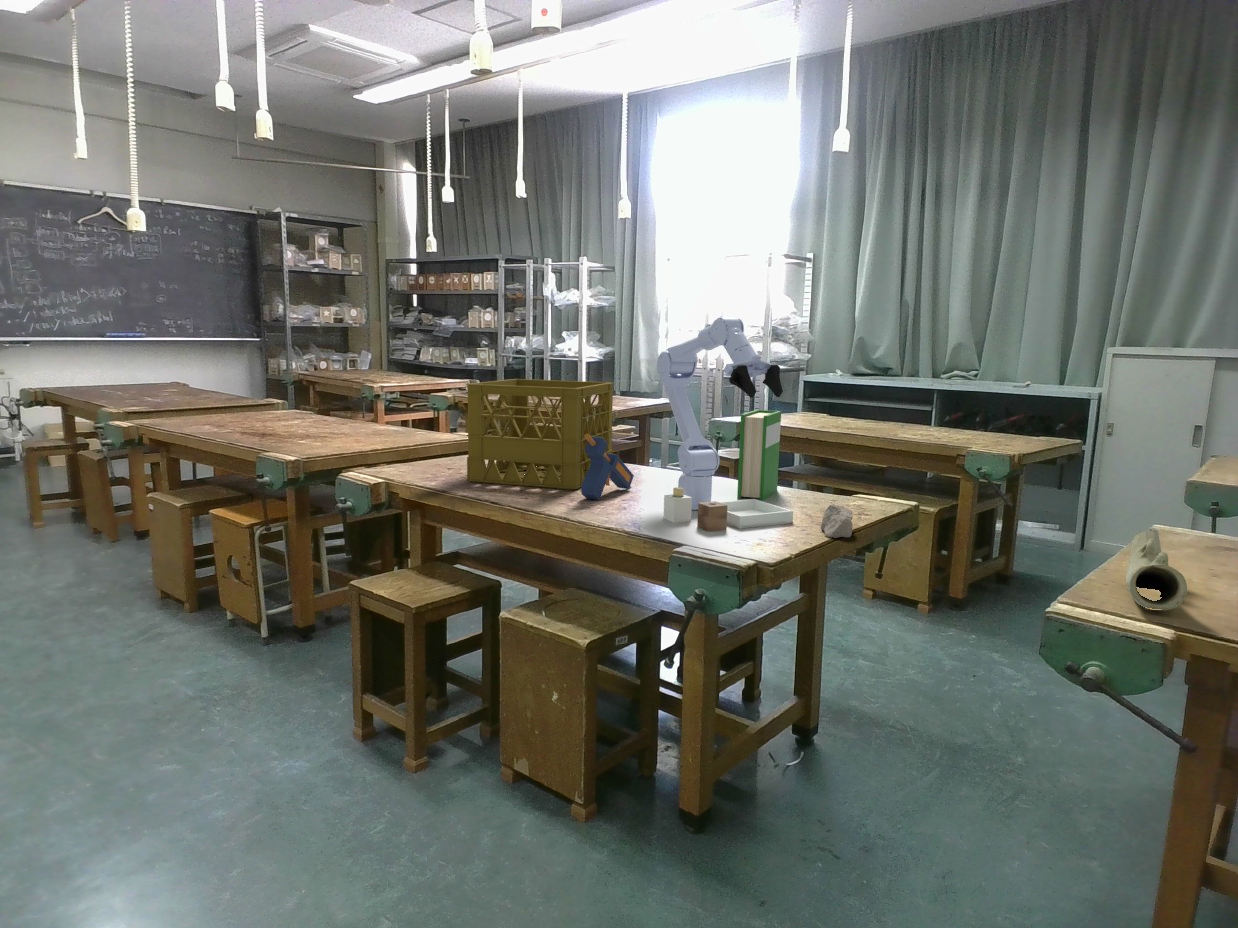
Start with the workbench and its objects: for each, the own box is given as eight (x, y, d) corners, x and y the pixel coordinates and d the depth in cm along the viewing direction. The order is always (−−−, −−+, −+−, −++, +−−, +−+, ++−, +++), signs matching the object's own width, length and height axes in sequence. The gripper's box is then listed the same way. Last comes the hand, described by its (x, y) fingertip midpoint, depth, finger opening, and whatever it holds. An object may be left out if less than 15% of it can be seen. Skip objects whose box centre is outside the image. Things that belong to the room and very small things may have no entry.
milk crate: (467, 482, 241) (466, 384, 237) (515, 465, 275) (515, 378, 270) (576, 491, 231) (577, 388, 227) (612, 472, 265) (614, 382, 260)
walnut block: (697, 527, 190) (698, 502, 189) (714, 525, 192) (715, 500, 191) (708, 531, 186) (709, 506, 185) (726, 529, 188) (727, 504, 187)
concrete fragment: (820, 538, 183) (822, 512, 182) (819, 524, 196) (821, 500, 195) (852, 540, 181) (854, 514, 180) (849, 526, 195) (851, 502, 194)
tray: (703, 514, 203) (703, 503, 203) (753, 509, 210) (754, 498, 210) (739, 528, 189) (740, 516, 189) (792, 522, 196) (793, 511, 196)
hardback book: (762, 501, 222) (767, 416, 218) (737, 498, 225) (740, 414, 221) (777, 490, 238) (781, 411, 234) (752, 488, 241) (756, 409, 237)
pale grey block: (663, 518, 198) (664, 487, 197) (680, 516, 201) (681, 485, 199) (673, 522, 194) (674, 490, 193) (691, 521, 196) (692, 489, 195)
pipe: (1185, 620, 132) (1193, 562, 130) (1126, 612, 135) (1134, 555, 134) (1152, 576, 157) (1159, 527, 156) (1104, 570, 161) (1109, 522, 159)
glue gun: (622, 526, 232) (638, 481, 238) (584, 478, 207) (603, 429, 213) (604, 522, 235) (620, 478, 241) (564, 475, 210) (583, 427, 215)
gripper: (724, 341, 185) (748, 382, 177) (773, 342, 192) (799, 381, 184) (712, 363, 190) (735, 404, 182) (761, 363, 196) (785, 403, 189)
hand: (766, 394), depth 183 cm, fingers open, 7 cm apart
